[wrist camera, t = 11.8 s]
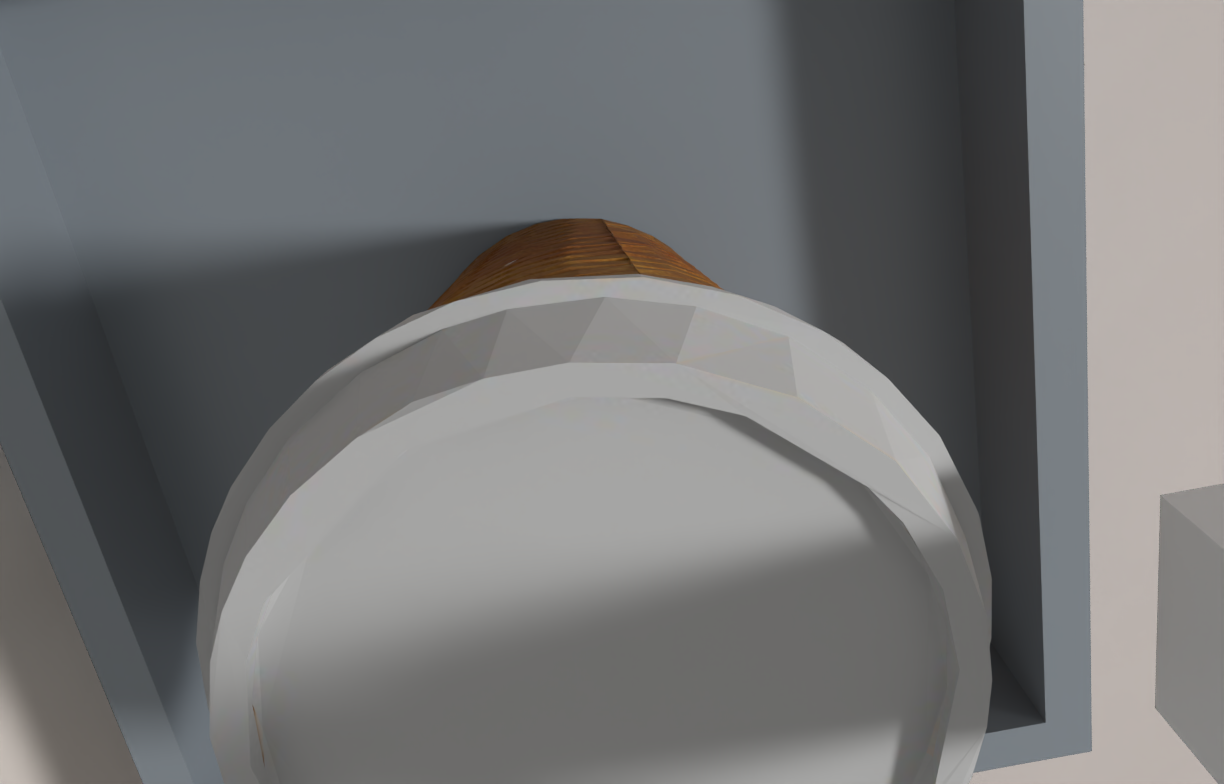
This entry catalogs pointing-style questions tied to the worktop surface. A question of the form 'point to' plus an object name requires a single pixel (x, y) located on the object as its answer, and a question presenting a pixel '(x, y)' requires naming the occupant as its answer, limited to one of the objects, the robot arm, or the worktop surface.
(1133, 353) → the worktop surface
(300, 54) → the bin
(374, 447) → the disposable coffee cup
